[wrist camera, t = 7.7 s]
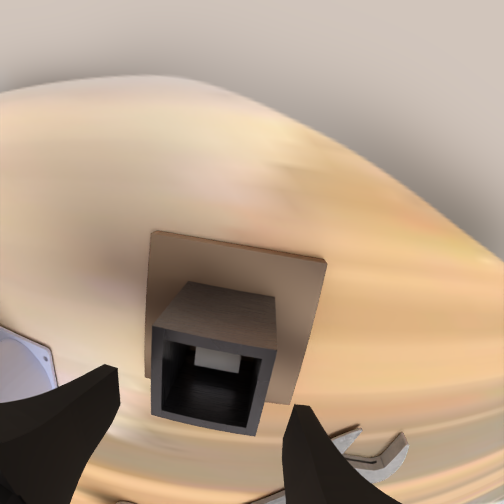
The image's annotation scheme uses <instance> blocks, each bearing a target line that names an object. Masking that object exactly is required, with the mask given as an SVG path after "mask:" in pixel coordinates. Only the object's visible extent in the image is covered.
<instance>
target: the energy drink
mask: <svg viewBox="0 0 504 504" xmlns="http://www.w3.org/2000/svg"><path fill="white" fill-rule="evenodd" d="M116 504H135V503H131V502H127V501H120V502H117V503H116Z"/></svg>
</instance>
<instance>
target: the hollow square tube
mask: <svg viewBox="0 0 504 504" xmlns="http://www.w3.org/2000/svg"><path fill="white" fill-rule="evenodd" d="M190 345H191V346H196V347H201V348H206V349H210V350H215V351H221V352H226V353H231V354H237V355H242V356H248V357H254V359H253V362H251V361H245V360H241V361H240V366H239V372H238V373H234V372H228V371H223V370H217V369H212V368H207V367H202V366H198V365H194V364H195V354H196V351H193V350H190ZM276 354H277V326H276V304H275V297H273V296H267V295H262V294H256V293H250V292H244V291H239V290H233V289H228V288H223V287H217V286H212V285H207V284H201V283H196V282H191V281H188V282H187V283H186V284H185V285H184V287H183V288H182V289H181V290H180V292H179V293H178V294H177V295H176V296H175V298H174V299H173V300H172V301H171V303H170V304H169V305H168V306H167V308H166V309H165V310H164V311H163V313H162V314H161V315H160V316H159V317H158V319H157V320H156V321H155V322H154V324H153V325H152V342H151V415H155V416H158V417H162V418H166V419H170V420H173V421H177V422H182V423H186V424H190V425H195V426H199V427H204V428H209V429H214V430H219V431H225V432H230V433H236V434H243V435H249V436H255V435H256V432H257V428H258V424H259V421H260V417H261V413H262V409H263V406H264V402H265V398H266V394H267V390H268V387H269V383H270V379H271V375H272V371H273V367H274V363H275V359H276Z"/></svg>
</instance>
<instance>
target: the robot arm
mask: <svg viewBox="0 0 504 504" xmlns="http://www.w3.org/2000/svg"><path fill="white" fill-rule="evenodd" d="M119 406H120V394H119V381H118V368H115V367H112V366H109V365H106V364H104V365H102V366H100V367H98V368H96V369H94V370H92V371H90V372H88V373H86V374H85V375H83V376H81V377H79V378H77V379H75V380H73V381H71V382H69V383H67V384H64V385H62V386H60V387H57V382H56V377H55V372H54V367H53V361H52V355H51V351H50V350H49V349H48V348H47V347H45V346H42V345H40V344H38V343H36V342H33V341H31V340H29V339H27V338H24V337H22V336H20V335H18V334H16V333H14V332H12V331H10V330H8V329H5V328H3V327H1V326H0V504H70V502H71V499H72V496H73V494H74V491H75V489H76V486H77V484H78V481H79V479H80V477H81V474H82V472H83V470H84V468H85V466H86V464H87V462H88V460H89V458H90V457H91V455H92V453H93V452H94V450H95V449H96V447H97V446H98V444H99V443H100V441H101V439H102V438H103V436H104V435H105V433H106V432H107V430H108V429H109V427H110V425H111V424H112V422H113V420H114V418H115V416H116V413H117V411H118V409H119ZM282 465H283V476H284V487H285V498H286V504H402V503H400V502H398V501H396V500H395V499H393V498H391V497H390V496H388V495H386V494H385V493H383V492H382V491H381V490H379V489H378V488H377V487H375V486H374V485H373V484H371V483H370V482H369V481H368V480H366V479H365V478H364V477H363V476H362V475H361V474H360V473H359V472H358V471H357V470H356V469H355V468H354V467H353V466H352V465H351V464H350V463H349V462H348V461H347V460H346V459H345V457H344V456H343V455H342V454H341V453H340V451H339V450H338V449H337V447H336V446H335V445H334V443H333V442H332V440H331V439H330V438H329V436H328V435H327V433H326V432H325V430H324V429H323V427H322V425H321V424H320V422H319V420H318V419H317V417H316V415H315V414H314V412H313V410H312V409H311V407H310V406H306V405H296V404H294V407H293V410H292V413H291V416H290V419H289V422H288V425H287V428H286V431H285V434H284V437H283V448H282Z"/></svg>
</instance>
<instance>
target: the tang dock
mask: <svg viewBox="0 0 504 504" xmlns="http://www.w3.org/2000/svg"><path fill="white" fill-rule="evenodd" d="M326 268H327V263H326V261H325V260H324V259H318V258H313V257H307V256H301V255H295V254H290V253H284V252H278V251H272V250H267V249H261V248H255V247H249V246H243V245H238V244H232V243H226V242H220V241H214V240H209V239H203V238H197V237H191V236H185V235H179V234H173V233H167V232H161V231H155V232H153V233H151V241H150V252H149V264H148V278H147V295H146V318H145V377H146V378H150V379H151V342H152V325H153V324H154V322H155V321H156V320H157V319H158V317H159V316H160V315H161V314H162V313H163V311H164V310H165V309H166V308H167V306H168V305H169V304H170V303H171V301H172V300H173V299H174V298H175V296H176V295H177V294H178V293H179V292H180V290H181V289H182V288H183V287H184V285H185V284H186V283H187V282H188V281H191V282H196V283H201V284H207V285H212V286H217V287H223V288H228V289H233V290H239V291H244V292H250V293H256V294H262V295H267V296H273V297H275V304H276V326H277V354H276V359H275V363H274V367H273V371H272V375H271V379H270V383H269V387H268V390H267V394H266V398H265V402H269V403H276V404H285V405H290V402H291V399H292V396H293V392H294V389H295V386H296V382H297V379H298V376H299V372H300V369H301V365H302V362H303V358H304V355H305V351H306V348H307V344H308V340H309V337H310V333H311V329H312V325H313V322H314V318H315V314H316V310H317V306H318V302H319V298H320V294H321V289H322V285H323V281H324V277H325V272H326ZM190 350H193V351H196V354H195V364H194V365H198V366H202V367H207V368H212V369H217V370H223V371H228V372H234V373H238V372H239V366H240V361H241V360H245V361H251V362H253V359H254V357H248V356H242V355H237V354H231V353H226V352H221V351H215V350H210V349H206V348H201V347H196V346H191V345H190Z"/></svg>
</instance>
